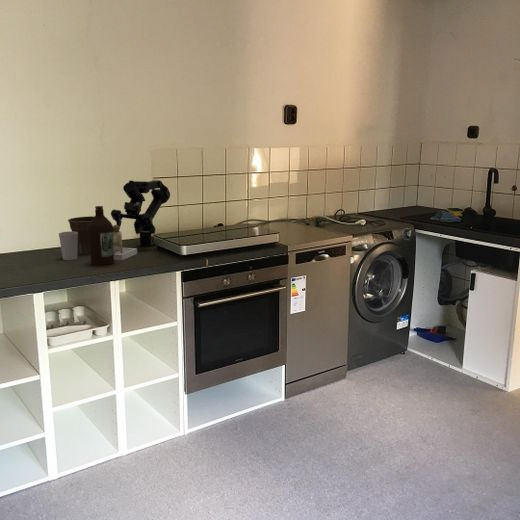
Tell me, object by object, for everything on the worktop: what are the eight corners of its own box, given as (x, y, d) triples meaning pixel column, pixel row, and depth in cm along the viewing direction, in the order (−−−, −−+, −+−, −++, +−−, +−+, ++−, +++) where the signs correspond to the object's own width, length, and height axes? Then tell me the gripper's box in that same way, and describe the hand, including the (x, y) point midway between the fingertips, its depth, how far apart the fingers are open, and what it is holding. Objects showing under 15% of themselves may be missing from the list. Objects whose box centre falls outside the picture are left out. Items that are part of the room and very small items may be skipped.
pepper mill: (119, 254, 266) (117, 223, 263) (124, 255, 263) (123, 224, 260) (110, 256, 263) (108, 225, 260) (116, 257, 260) (114, 226, 257)
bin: (113, 253, 271) (113, 247, 271) (137, 254, 268) (137, 248, 268) (97, 259, 258) (97, 253, 258) (122, 261, 255) (122, 254, 254)
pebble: (117, 257, 261) (116, 250, 260) (123, 257, 260) (122, 251, 259) (113, 258, 258) (113, 252, 257) (119, 259, 257) (119, 252, 256)
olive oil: (84, 265, 248) (80, 206, 242) (104, 260, 256) (100, 204, 251) (100, 268, 242) (97, 208, 236) (120, 264, 250) (117, 206, 245)
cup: (82, 257, 262) (80, 231, 259) (75, 261, 254) (73, 234, 252) (65, 257, 263) (63, 231, 260) (57, 261, 255) (55, 234, 252)
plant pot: (64, 256, 266) (61, 221, 262) (79, 249, 281) (76, 215, 278) (98, 257, 264) (96, 221, 260) (111, 249, 280) (109, 216, 276)
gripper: (112, 192, 270) (103, 221, 263) (151, 197, 268) (143, 226, 261) (118, 205, 280) (109, 233, 273) (156, 210, 278) (148, 238, 271)
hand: (127, 232), depth 269 cm, fingers open, 9 cm apart
